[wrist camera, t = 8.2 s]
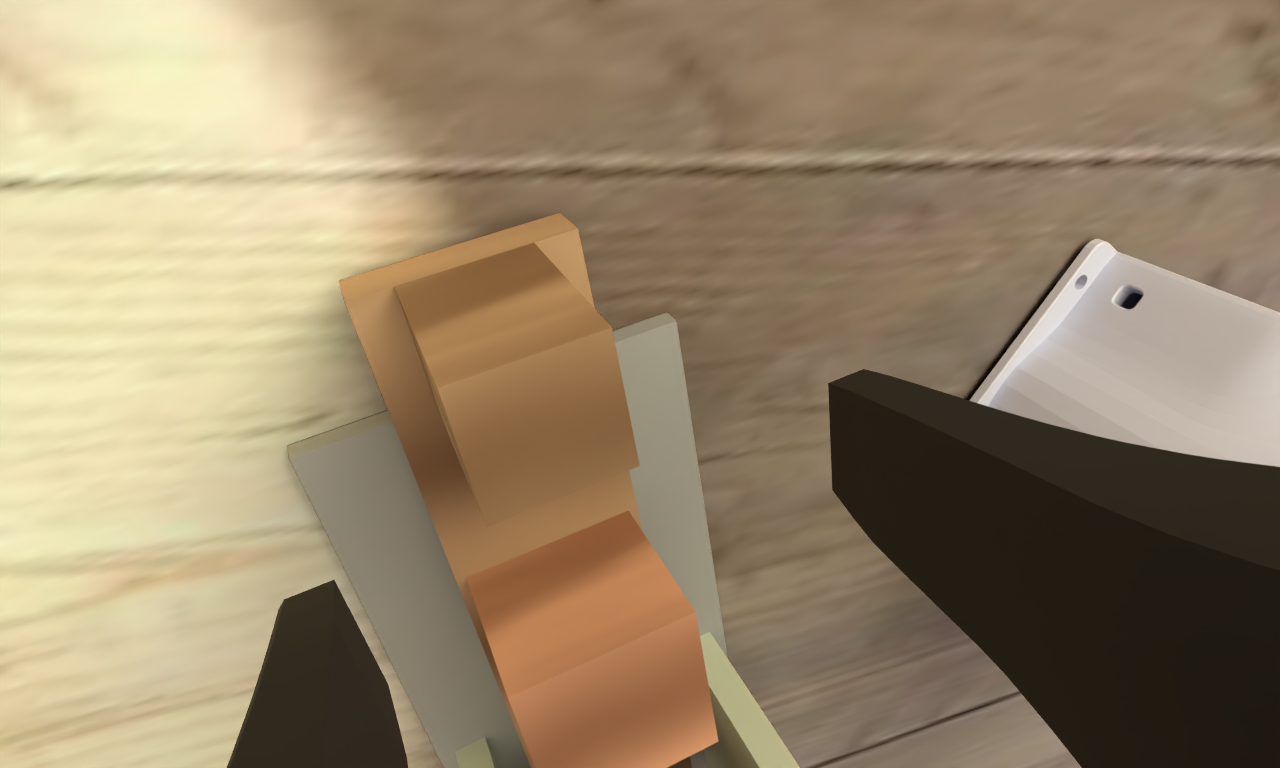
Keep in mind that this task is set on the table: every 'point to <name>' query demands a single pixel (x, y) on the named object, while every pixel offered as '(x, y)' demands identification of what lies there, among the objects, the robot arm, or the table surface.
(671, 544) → the track board
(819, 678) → the table surface
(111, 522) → the table surface
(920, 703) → the table surface
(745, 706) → the tunnel
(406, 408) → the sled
